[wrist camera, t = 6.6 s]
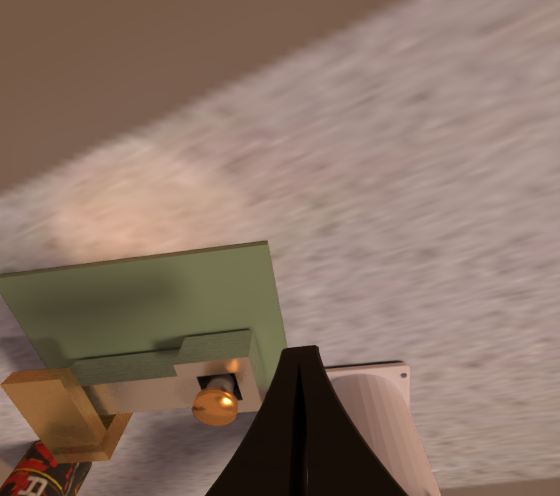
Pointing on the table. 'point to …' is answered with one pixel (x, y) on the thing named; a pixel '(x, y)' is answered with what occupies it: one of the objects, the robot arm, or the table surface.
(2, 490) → the deodorant
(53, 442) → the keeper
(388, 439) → the robot arm
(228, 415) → the orange round knob
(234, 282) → the plate
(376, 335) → the table surface
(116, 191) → the table surface
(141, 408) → the beige rectangular block
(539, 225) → the table surface
